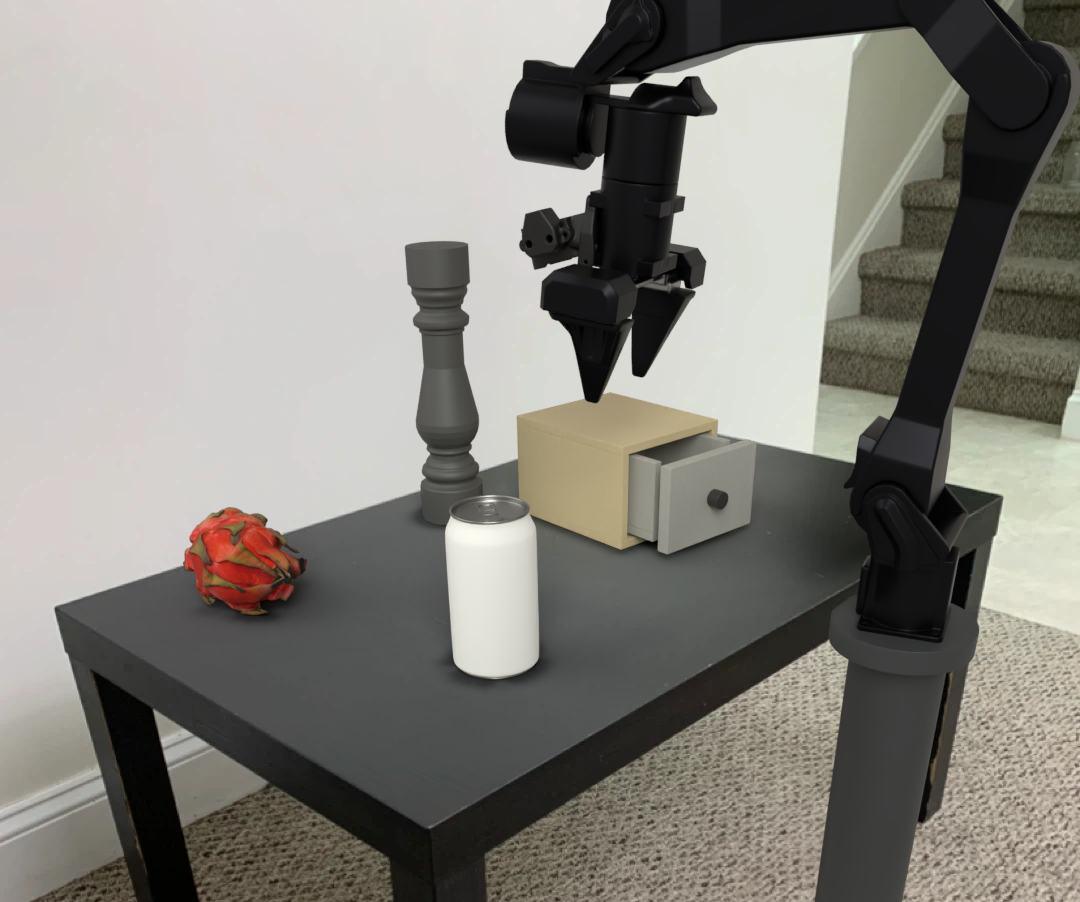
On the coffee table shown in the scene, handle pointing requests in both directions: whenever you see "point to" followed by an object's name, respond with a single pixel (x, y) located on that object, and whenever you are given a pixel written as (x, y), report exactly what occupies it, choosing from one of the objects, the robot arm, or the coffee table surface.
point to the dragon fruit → (241, 561)
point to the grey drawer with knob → (690, 490)
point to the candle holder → (443, 376)
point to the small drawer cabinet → (593, 460)
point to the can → (493, 586)
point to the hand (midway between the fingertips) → (616, 388)
